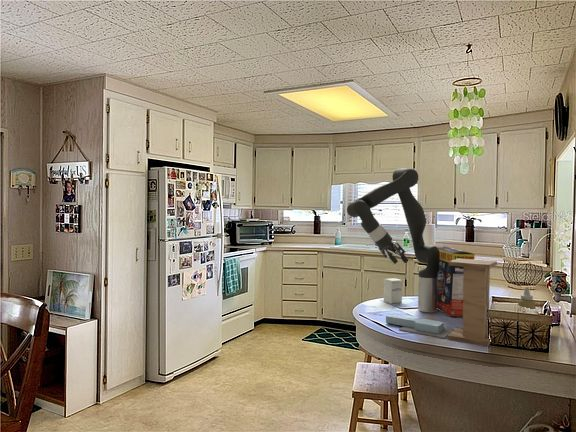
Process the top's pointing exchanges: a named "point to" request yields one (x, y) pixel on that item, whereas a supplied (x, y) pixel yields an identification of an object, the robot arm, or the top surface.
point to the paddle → (416, 323)
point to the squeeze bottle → (527, 300)
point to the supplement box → (393, 290)
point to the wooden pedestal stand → (474, 301)
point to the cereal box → (451, 281)
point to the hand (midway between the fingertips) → (401, 262)
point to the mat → (442, 334)
